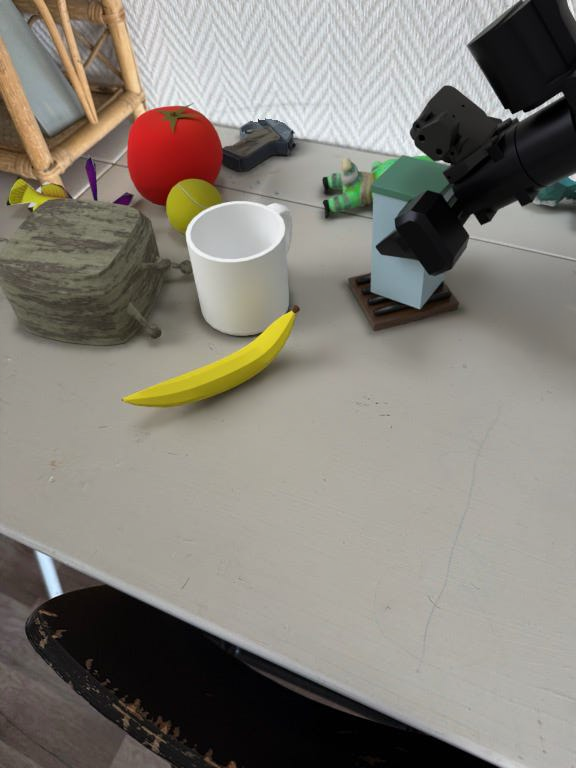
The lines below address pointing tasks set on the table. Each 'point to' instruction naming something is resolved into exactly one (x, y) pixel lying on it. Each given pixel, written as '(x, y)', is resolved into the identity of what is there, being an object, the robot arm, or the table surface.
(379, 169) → the toy
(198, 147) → the tomato
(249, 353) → the banana
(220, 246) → the mug
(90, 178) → the toy
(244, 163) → the handgun
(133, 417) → the table surface
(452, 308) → the dish rack
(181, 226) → the tennis ball
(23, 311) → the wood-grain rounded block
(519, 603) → the table surface
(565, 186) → the figurine
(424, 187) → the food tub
